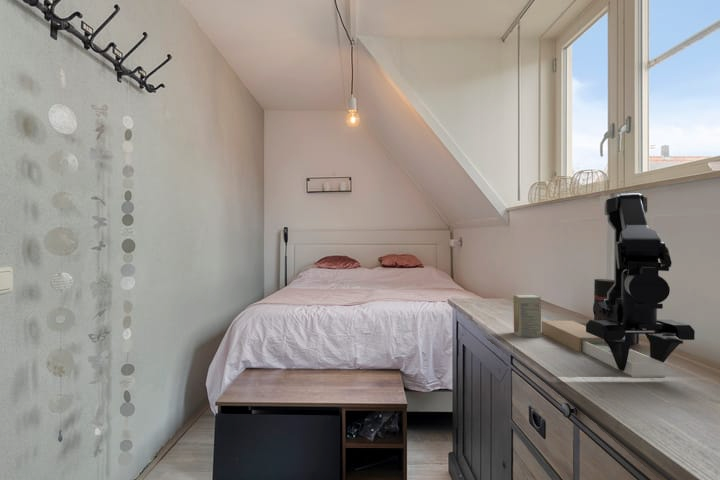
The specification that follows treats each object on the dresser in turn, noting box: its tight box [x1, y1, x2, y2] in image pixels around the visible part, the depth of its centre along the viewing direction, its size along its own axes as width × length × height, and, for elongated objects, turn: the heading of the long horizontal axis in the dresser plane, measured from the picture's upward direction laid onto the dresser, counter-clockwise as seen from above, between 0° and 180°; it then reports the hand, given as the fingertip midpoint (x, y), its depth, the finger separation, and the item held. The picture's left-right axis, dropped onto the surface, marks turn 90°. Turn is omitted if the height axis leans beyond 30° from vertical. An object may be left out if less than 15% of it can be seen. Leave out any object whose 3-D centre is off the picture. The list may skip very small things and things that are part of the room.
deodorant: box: [593, 278, 614, 320], centre depth 107 cm, size 6×6×15 cm
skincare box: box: [512, 294, 542, 338], centre depth 94 cm, size 6×4×12 cm
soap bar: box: [593, 344, 612, 353], centre depth 78 cm, size 3×5×2 cm, turn 1°
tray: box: [581, 339, 666, 379], centre depth 74 cm, size 7×16×3 cm, turn 1°
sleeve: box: [541, 320, 602, 353], centre depth 88 cm, size 9×16×4 cm, turn 1°
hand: (637, 370), depth 69 cm, fingers closed on tray, 7 cm apart
